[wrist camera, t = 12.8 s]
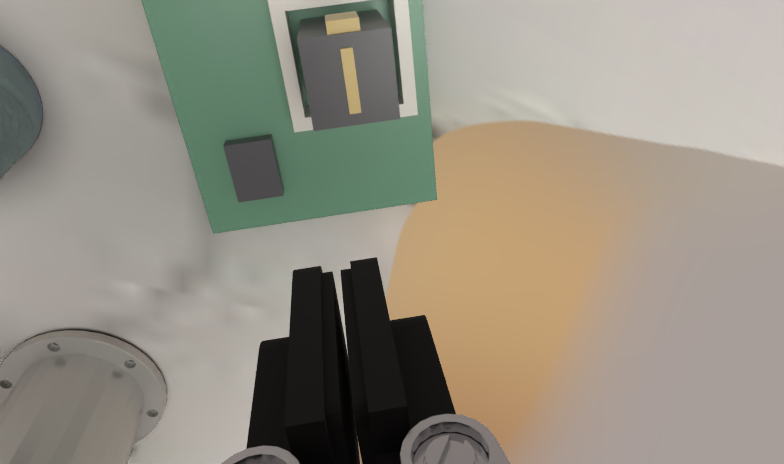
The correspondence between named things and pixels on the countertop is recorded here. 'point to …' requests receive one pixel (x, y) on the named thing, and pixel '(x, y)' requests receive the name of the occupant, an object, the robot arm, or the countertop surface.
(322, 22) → the plug
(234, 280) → the countertop surface
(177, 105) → the board
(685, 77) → the countertop surface
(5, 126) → the dark grey open cylinder
